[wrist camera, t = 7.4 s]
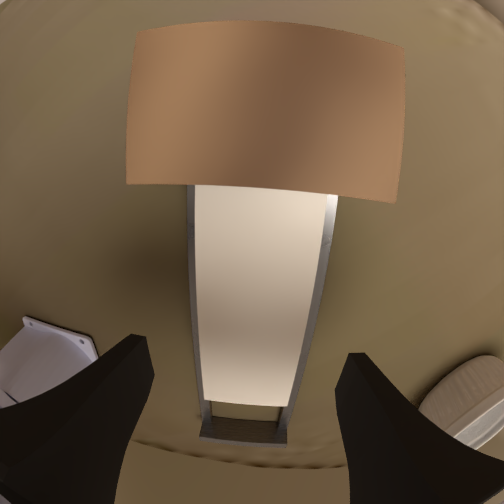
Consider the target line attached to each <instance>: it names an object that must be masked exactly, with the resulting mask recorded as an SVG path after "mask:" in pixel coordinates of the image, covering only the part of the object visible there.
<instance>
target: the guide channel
mask: <svg viewBox="0 0 504 504" xmlns="http://www.w3.org/2000/svg"><path fill="white" fill-rule="evenodd" d="M337 200H338V195H330V194H328V195H327V204H326V212H325V219H324V227H323V234H322V240H321V247H320V254H319V260H318V266H317V272H316V278H315V283H314V289H313V294H312V300H311V305H310V310H309V315H308V320H307V325H306V330H305V334H304V339H303V344H302V348H301V353H300V357H299V361H298V365H297V370H296V374H295V378H294V382H293V386H292V390H291V394H290V397H289V401H288V405H287V406H282V408H281V412H280V416H279V420H278V422H267V421H251V420H239V419H229V418H220V417H213V416H212V404H211V400H204V391H203V381H202V371H201V359H200V346H199V332H198V315H197V295H196V267H195V185H187V240H188V271H189V291H190V308H191V322H192V334H193V346H194V356H195V366H196V376H197V384H198V392H199V400H200V408H201V415H202V426H201V431H200V435H199V438H200V440H201V441H207V442H214V443H222V444H231V445H241V446H254V447H276V448H286V446H287V427H288V424H289V421H290V418H291V414H292V411H293V408H294V405H295V401H296V398H297V394H298V391H299V387H300V384H301V380H302V377H303V373H304V369H305V365H306V361H307V358H308V354H309V350H310V346H311V341H312V337H313V333H314V329H315V324H316V320H317V315H318V311H319V306H320V301H321V297H322V292H323V287H324V281H325V276H326V271H327V265H328V260H329V254H330V248H331V242H332V235H333V229H334V222H335V215H336V208H337Z"/></svg>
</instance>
